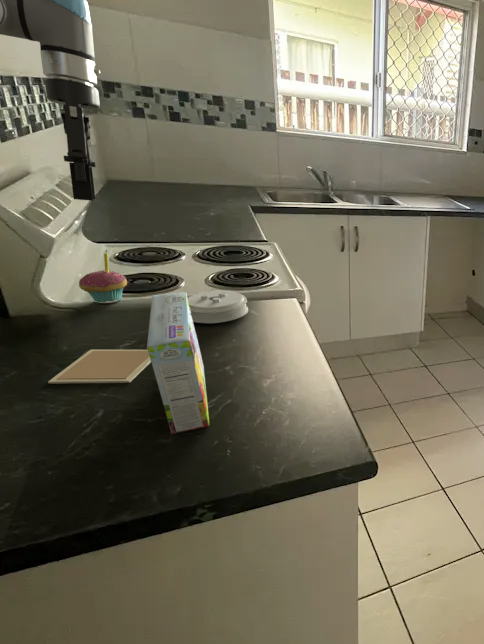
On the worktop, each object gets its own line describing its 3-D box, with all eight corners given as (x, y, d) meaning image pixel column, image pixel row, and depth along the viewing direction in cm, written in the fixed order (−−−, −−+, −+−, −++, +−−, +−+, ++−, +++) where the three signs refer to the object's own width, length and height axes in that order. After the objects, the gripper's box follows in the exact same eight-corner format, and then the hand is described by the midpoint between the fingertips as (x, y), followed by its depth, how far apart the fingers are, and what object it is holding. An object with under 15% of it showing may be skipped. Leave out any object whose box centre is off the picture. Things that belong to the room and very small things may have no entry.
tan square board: (48, 383, 79) (47, 381, 79) (91, 351, 90) (90, 348, 90) (129, 382, 82) (129, 380, 82) (162, 351, 92) (161, 349, 92)
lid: (180, 311, 110) (176, 291, 107) (241, 302, 117) (238, 283, 115) (191, 331, 101) (186, 309, 99) (255, 320, 109) (252, 300, 107)
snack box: (168, 371, 86) (150, 294, 80) (204, 366, 89) (189, 290, 83) (168, 436, 70) (144, 346, 64) (212, 427, 73) (193, 339, 67)
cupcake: (129, 292, 116) (117, 244, 111) (132, 304, 111) (120, 254, 106) (84, 297, 111) (69, 247, 106) (84, 310, 106) (69, 257, 101)
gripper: (95, 76, 82) (109, 202, 87) (99, 96, 101) (110, 200, 106) (35, 64, 77) (53, 198, 82) (51, 88, 96) (64, 196, 101)
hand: (85, 199), depth 94 cm, fingers open, 13 cm apart
